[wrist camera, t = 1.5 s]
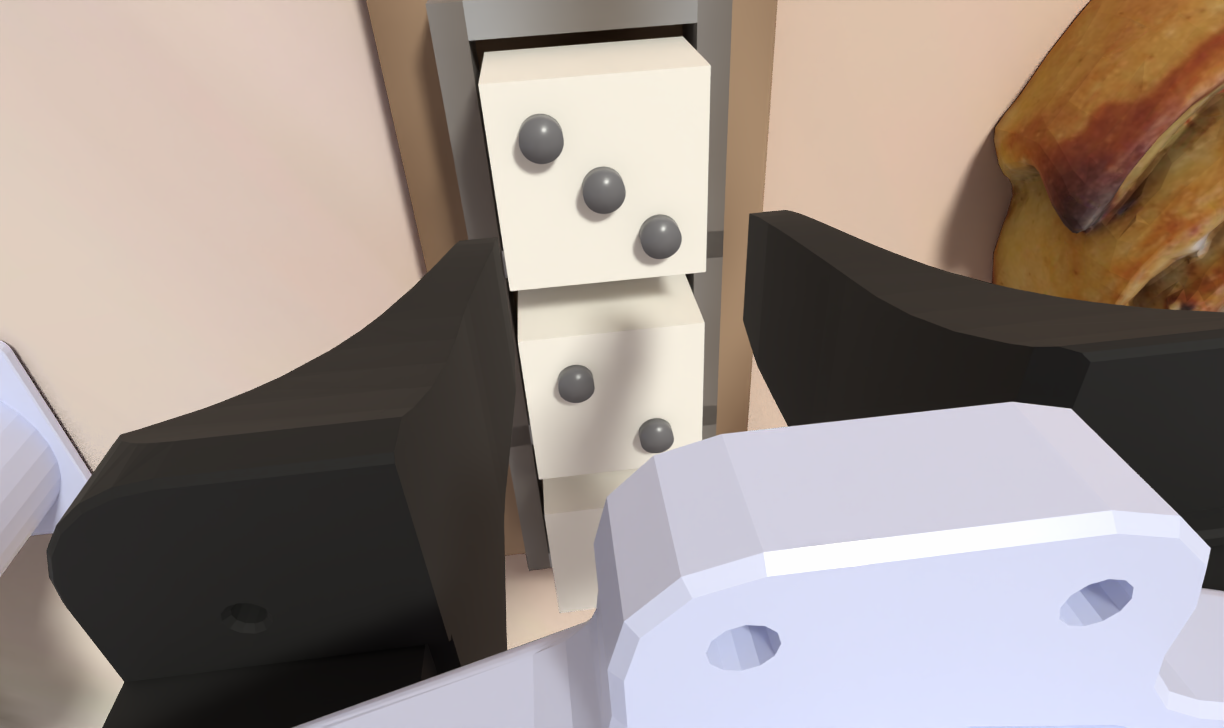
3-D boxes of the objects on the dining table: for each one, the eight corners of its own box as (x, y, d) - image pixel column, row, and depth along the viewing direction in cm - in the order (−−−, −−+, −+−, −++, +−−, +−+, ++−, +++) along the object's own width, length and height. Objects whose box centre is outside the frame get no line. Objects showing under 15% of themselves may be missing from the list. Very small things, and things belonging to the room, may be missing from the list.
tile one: (555, 542, 26) (560, 623, 23) (541, 446, 23) (544, 525, 21) (681, 527, 26) (700, 606, 23) (681, 431, 24) (703, 506, 21)
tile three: (511, 236, 19) (509, 299, 16) (484, 51, 16) (477, 89, 14) (682, 220, 19) (709, 280, 17) (682, 36, 17) (715, 70, 14)
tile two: (536, 412, 23) (539, 489, 20) (518, 283, 20) (517, 350, 17) (681, 397, 23) (704, 470, 20) (681, 266, 20) (707, 331, 17)
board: (491, 538, 29) (489, 595, 27) (360, -61, 17) (336, -49, 15) (734, 509, 30) (752, 563, 28) (771, -89, 18) (808, -82, 15)
